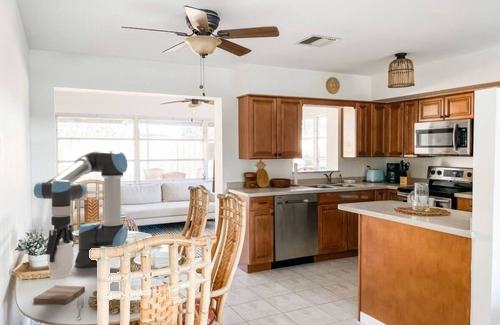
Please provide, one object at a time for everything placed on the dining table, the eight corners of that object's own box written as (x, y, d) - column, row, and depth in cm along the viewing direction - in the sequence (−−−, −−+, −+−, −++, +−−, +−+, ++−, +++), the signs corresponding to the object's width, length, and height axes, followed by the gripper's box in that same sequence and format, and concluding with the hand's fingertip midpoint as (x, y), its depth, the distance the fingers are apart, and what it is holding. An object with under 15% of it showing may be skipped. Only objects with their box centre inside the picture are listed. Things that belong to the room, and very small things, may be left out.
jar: (55, 272, 171) (55, 239, 171) (77, 273, 171) (78, 240, 171) (41, 280, 161) (42, 245, 160) (65, 280, 160) (66, 245, 160)
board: (55, 289, 174) (55, 285, 174) (84, 290, 173) (84, 286, 173) (33, 302, 158) (33, 298, 158) (65, 304, 157) (65, 299, 157)
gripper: (67, 211, 177) (66, 258, 177) (36, 219, 154) (36, 273, 154) (82, 211, 176) (82, 258, 177) (54, 220, 154) (53, 274, 154)
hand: (60, 265), depth 166 cm, fingers closed on jar, 10 cm apart
